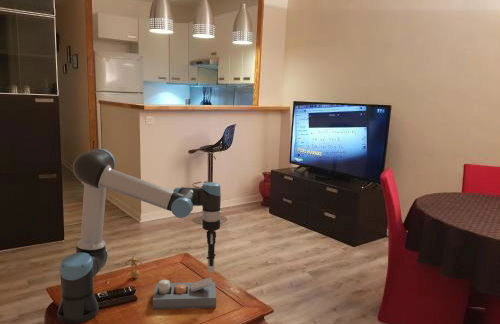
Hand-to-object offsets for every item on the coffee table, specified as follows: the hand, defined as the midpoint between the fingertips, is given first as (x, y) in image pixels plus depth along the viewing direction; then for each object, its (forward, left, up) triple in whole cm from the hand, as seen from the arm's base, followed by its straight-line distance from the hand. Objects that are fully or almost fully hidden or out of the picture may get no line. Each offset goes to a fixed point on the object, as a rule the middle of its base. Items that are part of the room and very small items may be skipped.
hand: (211, 271), depth 171 cm
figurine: (-36, +21, -13) cm, 43 cm away
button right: (-13, 0, -11) cm, 17 cm away
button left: (-20, 0, -9) cm, 22 cm away
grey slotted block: (-11, 0, -13) cm, 17 cm away
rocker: (-4, 0, -6) cm, 7 cm away
